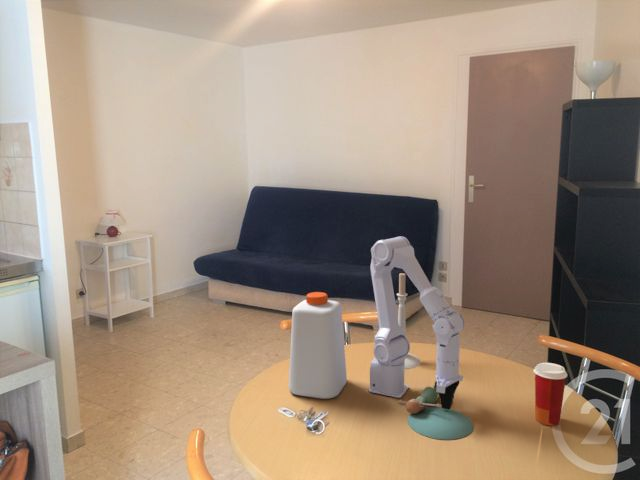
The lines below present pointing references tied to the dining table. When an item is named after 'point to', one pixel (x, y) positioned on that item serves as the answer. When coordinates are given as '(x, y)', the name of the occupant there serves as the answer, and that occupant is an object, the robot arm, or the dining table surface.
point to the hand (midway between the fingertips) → (446, 407)
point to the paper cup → (549, 392)
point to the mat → (440, 423)
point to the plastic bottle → (317, 348)
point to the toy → (422, 400)
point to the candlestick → (410, 359)
